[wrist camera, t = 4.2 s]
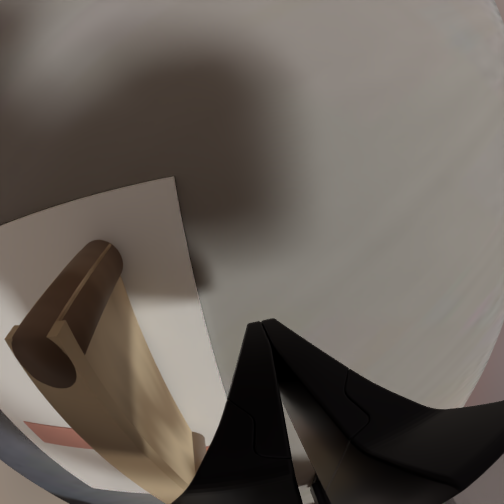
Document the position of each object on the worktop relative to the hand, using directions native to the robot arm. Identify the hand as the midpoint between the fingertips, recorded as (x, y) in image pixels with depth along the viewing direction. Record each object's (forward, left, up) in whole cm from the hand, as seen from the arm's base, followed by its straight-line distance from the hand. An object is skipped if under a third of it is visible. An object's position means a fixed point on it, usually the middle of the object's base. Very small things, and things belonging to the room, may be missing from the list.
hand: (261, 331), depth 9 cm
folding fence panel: (+5, +2, -1) cm, 6 cm away
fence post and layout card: (+11, +9, -2) cm, 14 cm away
